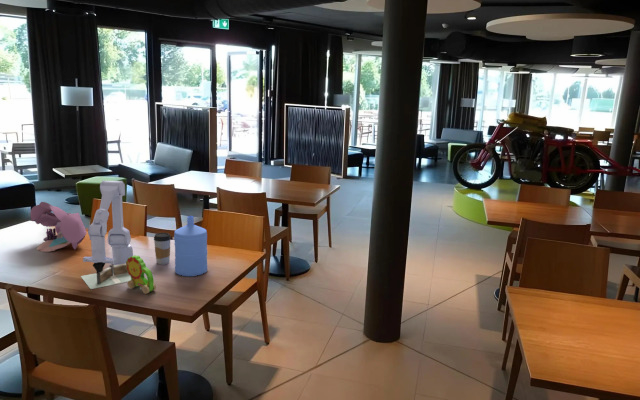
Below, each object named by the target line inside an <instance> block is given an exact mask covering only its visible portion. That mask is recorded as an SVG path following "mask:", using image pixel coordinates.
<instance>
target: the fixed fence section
mask: <svg viewBox="0 0 640 400" xmlns="http://www.w3.org/2000/svg"><path fill="white" fill-rule="evenodd" d="M109 267H111V271H112V276H113V270H114V275H117V274H122V273H128V271H127V269H126V263H125V264H119V265H113V264H110V265H109Z"/></svg>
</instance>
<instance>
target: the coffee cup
mask: <svg viewBox="0 0 640 400" xmlns="http://www.w3.org/2000/svg"><path fill="white" fill-rule="evenodd" d="M171 238H172V237H171V235H170V233H167V232H157V233H156V234H154V237H153V240H154V241H153V243H154V252H155V260H156V263H158V264H157V265H167V263H168V264H169V263H170V256H171Z"/></svg>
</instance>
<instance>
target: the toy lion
mask: <svg viewBox="0 0 640 400" xmlns="http://www.w3.org/2000/svg"><path fill="white" fill-rule="evenodd" d="M126 269H127V271H128V274H129V275H130V276H131V280H130V281H128V282H126V283H127V287H128V288H129V289H134V288H135V287H141V291H142V293H143V294H144V295H147V294H149V293H150V292H155V291H156V290H157V285H156V284H155V283H154V275H153V273H152V270H151V269H150V268H148V267H147V265H146V263H145V261H144V260H143V258H141V257H140V255H134V254H133V256H131V257H129V258H128V259H127V261H126ZM145 276H146V277H145Z"/></svg>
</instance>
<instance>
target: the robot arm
mask: <svg viewBox="0 0 640 400" xmlns="http://www.w3.org/2000/svg"><path fill="white" fill-rule="evenodd" d="M99 191H100V193H101V200H100V205H99V208H98V209H96V211H95V213H94V217H93V221H92V223H91V224H90V225H89V226H88V229H87V235H88V236H89V237H88V238H89V240H90V244H91V256H84V257H82V262H83V263H85V262H88V263H93V264H92V267H93V268H94V270H95V271H96V273H99V272H101V271H103V270H104V267H105V265H106V264H110V265H112V266H114V265H119V264H125V263H126V261H127V259H128V258H129V257H131V256H134V251H133V246H132V244H131V242H132V241H131V239H132V238H131V233H130V230H129V229H128V228H127V227H125V226H124V213H123V210H124V209H123V207H124V206H123V196H126V185H125V182H124V181H123V180H120V181H119V180H105V179H103V180H102V181H101V182H100V184H99ZM110 206H111V215H112V216H111V217H112V228H110V230H109V231H108V229H107V227H108V224H107V223H108V220H109V216H110V212H109V211H108V210H109V209H110ZM107 232H108V233H107ZM107 234H108V235H107ZM106 235H107V244H108V245H109V246H110V248H111V252H112V255H111V256H112V258H111V257H106V256H107V255H106V251H107V250H106V240H105V239H106Z"/></svg>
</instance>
